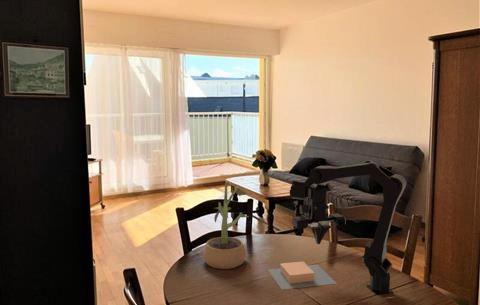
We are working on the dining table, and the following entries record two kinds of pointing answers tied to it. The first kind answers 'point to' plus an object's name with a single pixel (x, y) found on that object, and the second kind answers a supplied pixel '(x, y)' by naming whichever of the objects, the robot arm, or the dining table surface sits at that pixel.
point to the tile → (296, 272)
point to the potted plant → (225, 240)
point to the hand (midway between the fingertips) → (318, 243)
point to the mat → (319, 279)
